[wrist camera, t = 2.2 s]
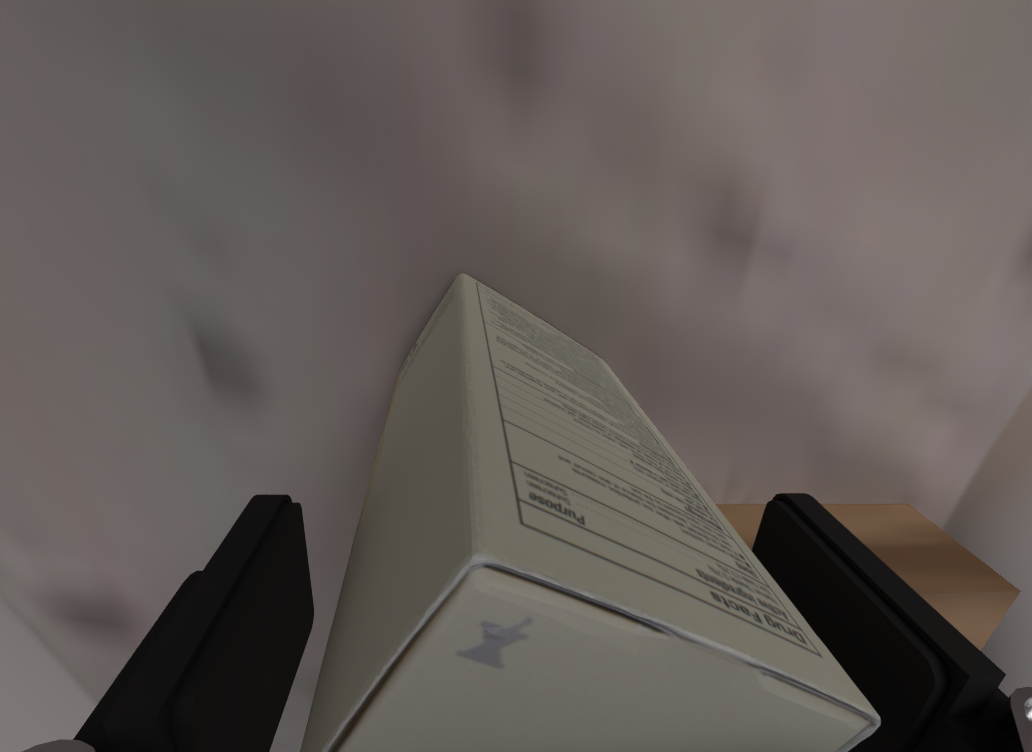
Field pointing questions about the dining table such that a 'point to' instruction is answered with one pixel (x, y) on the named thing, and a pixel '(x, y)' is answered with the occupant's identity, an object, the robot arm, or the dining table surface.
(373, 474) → the skincare box
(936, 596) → the light wood square block
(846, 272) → the dining table surface
